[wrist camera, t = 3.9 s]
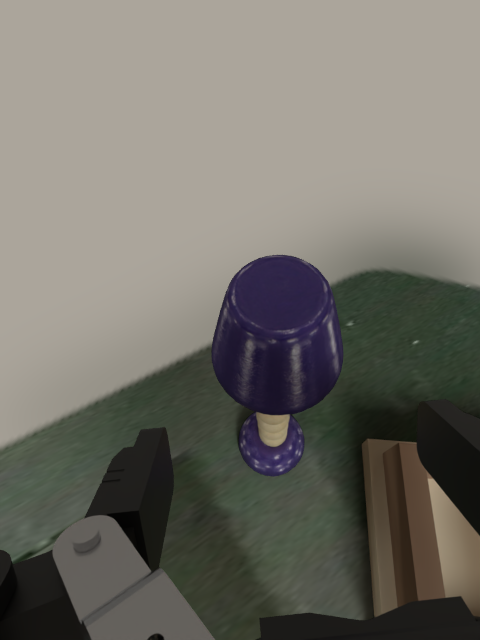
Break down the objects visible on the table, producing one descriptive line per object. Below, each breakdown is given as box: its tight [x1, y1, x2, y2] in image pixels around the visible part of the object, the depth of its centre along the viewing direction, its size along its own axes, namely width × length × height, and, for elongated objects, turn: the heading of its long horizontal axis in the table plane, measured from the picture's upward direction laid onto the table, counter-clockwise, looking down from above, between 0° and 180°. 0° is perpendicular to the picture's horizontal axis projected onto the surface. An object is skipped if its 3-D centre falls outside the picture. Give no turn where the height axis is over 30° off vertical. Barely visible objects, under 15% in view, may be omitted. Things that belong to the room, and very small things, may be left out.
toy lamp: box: [212, 255, 343, 476], centre depth 17 cm, size 5×5×17 cm
